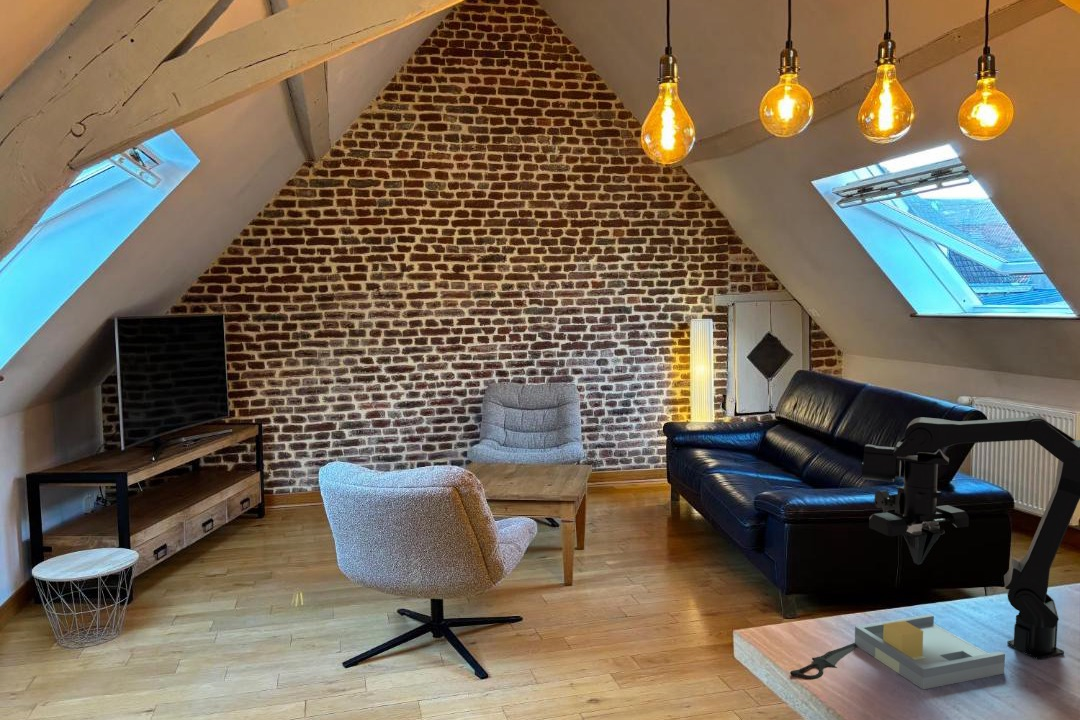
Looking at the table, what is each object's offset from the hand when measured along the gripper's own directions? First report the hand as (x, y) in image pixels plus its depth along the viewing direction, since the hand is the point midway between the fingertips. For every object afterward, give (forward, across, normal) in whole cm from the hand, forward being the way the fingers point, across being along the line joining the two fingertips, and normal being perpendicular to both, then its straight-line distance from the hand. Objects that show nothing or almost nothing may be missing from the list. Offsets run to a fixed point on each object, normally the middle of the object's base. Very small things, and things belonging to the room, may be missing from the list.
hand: (917, 563), depth 151 cm
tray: (+13, +7, +10) cm, 18 cm away
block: (+11, +12, +10) cm, 20 cm away
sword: (+14, +21, +5) cm, 26 cm away
